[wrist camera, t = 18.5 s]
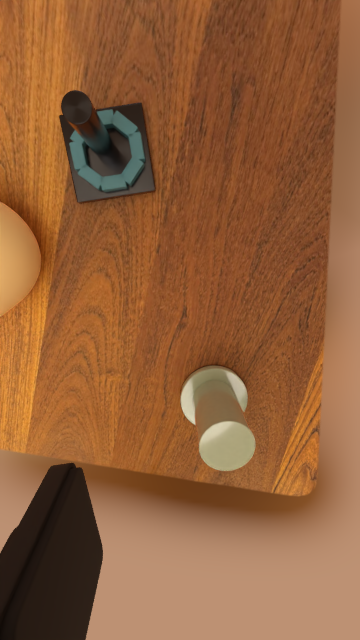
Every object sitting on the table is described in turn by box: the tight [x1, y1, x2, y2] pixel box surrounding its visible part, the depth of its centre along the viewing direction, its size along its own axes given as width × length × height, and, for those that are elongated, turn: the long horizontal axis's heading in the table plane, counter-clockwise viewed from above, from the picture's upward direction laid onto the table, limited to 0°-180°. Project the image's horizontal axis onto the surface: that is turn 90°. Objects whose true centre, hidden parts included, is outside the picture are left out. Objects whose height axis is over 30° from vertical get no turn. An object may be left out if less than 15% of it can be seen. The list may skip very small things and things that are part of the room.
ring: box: [69, 109, 145, 192], centre depth 31 cm, size 7×7×1 cm
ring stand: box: [180, 366, 255, 471], centre depth 34 cm, size 8×8×10 cm
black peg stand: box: [59, 90, 156, 203], centre depth 27 cm, size 8×8×12 cm
